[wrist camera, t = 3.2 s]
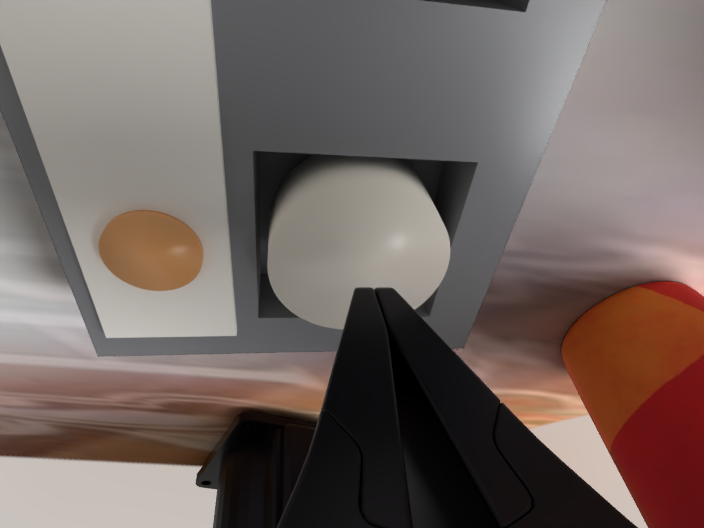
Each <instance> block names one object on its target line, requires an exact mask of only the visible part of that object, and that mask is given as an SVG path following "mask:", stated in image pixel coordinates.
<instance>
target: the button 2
mask: <svg viewBox="0 0 704 528" xmlns="http://www.w3.org/2000/svg"><path fill="white" fill-rule="evenodd" d="M449 260H450V240H449V236H448V232H447V230H446V228H445V225H444V223H443V221H442V219H441V217H440V215H439V213H438V211H437V209H436V207H435V205H434V203H433V201H432V199H431V197H430V195H429V193H428V191H427V189H426V187H425V185H424V183H423V181H422V180H421V178H420V177H419V175H418V174H417V172H416V171H415V170H414V169H413V168H412V167H411V166H410V165H409V164H408V163H406V162H405V161H404V160H403V159H401V158H383V157H364V156H345V155H325V154H315V155H313V156H311V157H309V158H307V159H306V160H304V161H303V162H301V163H300V164H299V165H297V166H296V167H295V168H294V169H293V170H292V171H291V172H289V173H288V174H287V176H286V177H285V178H284V179H283V181H282V182H281V183H280V185H279V187H278V189H277V190H276V192H275V195H274V197H273V200H272V204H271V208H270V219H269V240H268V261H267V269H268V277H269V281H270V284H271V287H272V289H273V291H274V293H275V294H276V296H277V297H278V299H279V300H280V301H281V303H282V304H283V305H284V306H285V307H286V308H287V309H289V310H290V311H291V312H292V313H294V314H295V315H297V316H298V317H300V318H302V319H304V320H306V321H308V322H310V323H313V324H316V325H319V326H323V327H327V328H333V329H343V328H344V325H345V321H346V317H347V314H348V310H349V306H350V303H351V299H352V295H353V292H354V289H355V288H356V287H371V288H373V289H375V288H377V287H391V288H394V289H395V290H396V291H397V292H398V293H399V294H400V295H401V296H402V297H403V298H404V299H405V300H406V302H407V303H408V304H409V305H410V306H411V307H412V308H413V309H414V310H415V309H416V308H418V307H419V306H420V305H422V304H423V303H424V302H425V301H426V300H427V299H428V298H429V297H430V296H431V295H432V294H433V293H434V292H435V290H436V289H437V288H438V286H439V285H440V283H441V281H442V280H443V278H444V276H445V273H446V271H447V268H448V264H449Z"/></svg>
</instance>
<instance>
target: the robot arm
mask: <svg viewBox="0 0 704 528" xmlns="http://www.w3.org/2000/svg"><path fill="white" fill-rule="evenodd" d="M196 485H197V486H199V487H204V488H211V489H217V497H216V506H215V515H214V523H213V528H638V527H636V526H635V525H634V524H633V523H632V522H630V521H629V520H628V519H627V518H625V516H623V515H622V514H621V513H620V512H619V511H617V510H616V509H615V508H614V507H613V506H612V505H611V504H610V503H609V502H608V501H606V500H605V499H604V498H603V497H602V496H601V495H600V494H598V493H597V492H596V491H595V490H594V489H593V488H592V487H591V486H590V485H588V484H587V483H586V482H585V481H584V480H583V479H582V478H581V477H579V476H578V475H577V474H576V473H575V472H574V471H573V470H572V469H570V468H569V467H568V466H567V465H566V464H565V463H564V462H562V461H561V460H560V459H559V458H558V457H557V456H556V455H555V454H554V453H553V452H552V451H551V450H550V449H549V448H547V447H546V446H545V445H544V444H543V443H542V442H541V441H540V440H539V439H538V438H537V437H536V436H535V435H534V434H533V433H532V432H531V431H530V430H529V429H528V428H527V427H526V426H525V425H524V424H523V423H522V422H521V421H520V420H519V419H518V418H517V417H516V416H515V415H514V414H513V413H512V412H511V411H510V410H509V409H508V408H507V407H506V406H505V404H503V403H500V400H499V398H498V397H497V396H496V395H495V394H494V393H493V392H492V391H491V390H490V389H489V388H488V387H487V386H486V385H485V384H484V383H483V382H482V380H481V379H480V378H479V377H478V376H477V375H476V374H475V373H474V372H473V371H472V370H471V369H470V368H469V367H468V366H467V365H466V364H465V363H464V362H463V360H462V359H461V358H460V357H459V356H458V355H457V354H456V353H455V352H454V351H453V350H452V349H451V348H450V347H449V346H448V345H447V344H446V343H445V342H444V340H443V339H442V338H441V337H440V336H439V335H438V334H437V333H436V332H435V331H434V330H433V329H432V328H431V327H430V326H429V325H428V324H427V323H426V322H425V320H424V319H423V318H422V317H421V316H420V315H419V314H418V313H417V312H416V311H415V310H414V309H413V308H412V307H411V306H410V305H409V304H408V303H407V302H406V300H405V299H404V298H403V297H402V296H401V295H400V294H399V293H398V292H397V291H396V290H395V289H394V288H391V287H377V288H375V289H373V288H371V287H356V288H355V289H354V292H353V295H352V299H351V303H350V306H349V310H348V314H347V317H346V321H345V325H344V328H343V332H342V336H341V339H340V343H339V346H338V350H337V354H336V357H335V361H334V365H333V368H332V372H331V376H330V379H329V383H328V387H327V390H326V394H325V397H324V401H323V405H322V408H321V412H320V415H319V418H318V422H317V424H312V423H307V422H302V421H297V420H292V419H287V418H282V417H277V416H272V415H267V414H262V413H257V412H249V411H248V412H243V413H241V414H239V415H238V416H237V418H236V419H235V421H234V422H233V424H232V425H231V426H230V428H229V429H228V431H227V432H226V434H225V435H224V436H223V438H222V439H221V441H220V442H219V444H218V445H217V446H216V448H215V449H214V451H213V452H212V454H211V455H210V456H209V458H208V459H207V461H206V462H205V463H204V465H203V466H202V468H201V469H200V471H199V472H198V474H197V479H196Z"/></svg>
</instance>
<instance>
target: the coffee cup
mask: <svg viewBox="0 0 704 528" xmlns="http://www.w3.org/2000/svg"><path fill="white" fill-rule="evenodd" d="M561 355H562V359H563V362H564V364H565V366H566V369H567V371H568V373H569V375H570V377H571V379H572V381H573V383H574V385H575V387H576V389H577V391H578V393H579V395H580V397H581V399H582V401H583V403H584V405H585V407H586V409H587V411H588V413H589V415H590V417H591V419H592V421H593V422H594V424H595V426H596V428H597V430H598V432H599V434H600V436H601V438H602V440H603V442H604V444H605V446H606V448H607V450H608V451H609V453H610V455H611V457H612V459H613V461H614V463H615V465H616V467H617V469H618V471H619V472H620V474H621V476H622V478H623V480H624V482H625V484H626V486H627V488H628V490H629V491H630V493H631V495H632V497H633V499H634V501H635V503H636V505H637V507H638V509H639V510H640V513H641V515H642V516H643V518H644V520H645V522H646V524H647V526H648V528H704V297H703V296H702V295H701V294H699V293H698V292H697V291H695V290H694V289H692V288H690V287H689V286H687V285H685V284H682V283H678V282H672V281H658V282H651V283H645V284H641V285H637V286H634V287H631V288H628V289H625V290H623V291H620V292H618V293H616V294H614V295H612V296H610V297H608V298H606V299H604V300H602V301H601V302H599V303H598V304H596V305H595V306H593V307H592V308H590V309H589V310H588V311H587V312H585V313H584V314H583V315H582V316H581V317H580V318H579V319H578V320H577V321H576V322H575V323H574V324H573V325H572V326H571V328H570V329H569V331H568V332H567V334H566V335H565V337H564V340H563V342H562V346H561Z"/></svg>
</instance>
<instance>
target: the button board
mask: <svg viewBox="0 0 704 528" xmlns="http://www.w3.org/2000/svg"><path fill="white" fill-rule="evenodd" d="M606 1H607V0H0V109H1V112H2V114H3V117H4V119H5V122H6V125H7V127H8V130H9V132H10V135H11V137H12V140H13V142H14V145H15V147H16V150H17V152H18V155H19V158H20V160H21V163H22V165H23V168H24V170H25V173H26V175H27V178H28V180H29V183H30V185H31V188H32V191H33V193H34V196H35V198H36V201H37V203H38V206H39V208H40V211H41V213H42V216H43V218H44V221H45V223H46V226H47V229H48V231H49V234H50V236H51V239H52V241H53V244H54V246H55V249H56V251H57V254H58V256H59V259H60V262H61V264H62V267H63V269H64V272H65V274H66V277H67V279H68V282H69V284H70V287H71V289H72V292H73V295H74V297H75V300H76V302H77V305H78V307H79V310H80V312H81V315H82V317H83V320H84V322H85V325H86V327H87V330H88V333H89V335H90V338H91V340H92V343H93V345H94V348H95V350H96V353H97V355H98V356H143V355H187V354H232V353H276V352H321V351H337V350H338V346H339V343H340V339H341V336H342V332H343V329H333V328H327V327H323V326H319V325H316V324H313V323H310V322H308V321H306V320H304V319H302V318H300V317H298V316H297V315H295V314H294V313H292V312H291V311H290V310H289V309H287V308H286V307H285V306H284V305H283V304H282V303H281V301H280V300H279V299H278V297H277V296H276V294H275V293H274V291H273V289H272V287H271V284H270V281H269V277H268V269H267V261H268V240H269V219H270V208H271V204H272V200H273V197H274V195H275V192H276V190H277V189H278V187H279V185H280V183H281V182H282V181H283V179H284V178H285V177H286V176H287V174H288V173H289V172H291V171H292V170H293V169H294V168H295V167H296V166H297V165H299V164H300V163H301V162H303V161H304V160H306V159H307V158H309V157H311V156H313V155H315V154H325V155H345V156H364V157H383V158H401V159H403V160H404V161H405V162H406V163H408V164H409V165H410V166H411V167H412V168H413V169H414V170H415V171H416V172H417V174H418V175H419V177H420V178H421V180H422V181H423V183H424V185H425V187H426V189H427V191H428V193H429V195H430V197H431V199H432V201H433V203H434V205H435V207H436V209H437V211H438V213H439V215H440V217H441V219H442V221H443V223H444V225H445V228H446V230H447V232H448V236H449V240H450V260H449V264H448V268H447V271H446V273H445V276H444V278H443V280H442V281H441V283H440V285H439V286H438V288H437V289H436V290H435V292H434V293H433V294H432V295H431V296H430V297H429V298H428V299H427V300H426V301H425V302H424V303H423V304H422V305H420V306H419V307H418V308H416V309H415V311H416V312H417V313H418V314H419V315H420V316H421V317H422V318H423V319H424V320H425V322H426V323H427V324H428V325H429V326H430V327H431V328H432V329H433V330H434V331H435V332H436V333H437V334H438V335H439V336H440V337H441V338H442V339H443V340H444V342H445V343H446V344H447V345H448V346H449V347H450V348H451V349H455V348H464V345H465V343H466V340H467V338H468V336H469V333H470V331H471V328H472V326H473V324H474V321H475V319H476V316H477V314H478V311H479V309H480V307H481V304H482V302H483V299H484V297H485V294H486V292H487V290H488V287H489V285H490V282H491V280H492V277H493V275H494V273H495V270H496V268H497V265H498V263H499V261H500V258H501V256H502V253H503V251H504V248H505V246H506V244H507V241H508V239H509V236H510V234H511V231H512V229H513V227H514V224H515V222H516V219H517V217H518V214H519V212H520V210H521V207H522V205H523V202H524V200H525V197H526V195H527V193H528V190H529V188H530V185H531V183H532V181H533V178H534V176H535V173H536V171H537V168H538V166H539V164H540V161H541V159H542V156H543V154H544V151H545V149H546V147H547V144H548V142H549V139H550V137H551V134H552V132H553V130H554V127H555V125H556V122H557V120H558V118H559V115H560V113H561V110H562V108H563V105H564V103H565V101H566V98H567V96H568V93H569V91H570V88H571V86H572V84H573V81H574V79H575V76H576V74H577V71H578V69H579V67H580V64H581V62H582V59H583V57H584V54H585V52H586V50H587V47H588V45H589V42H590V40H591V38H592V35H593V33H594V30H595V28H596V25H597V23H598V21H599V18H600V16H601V13H602V11H603V8H604V6H605V4H606Z"/></svg>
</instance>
